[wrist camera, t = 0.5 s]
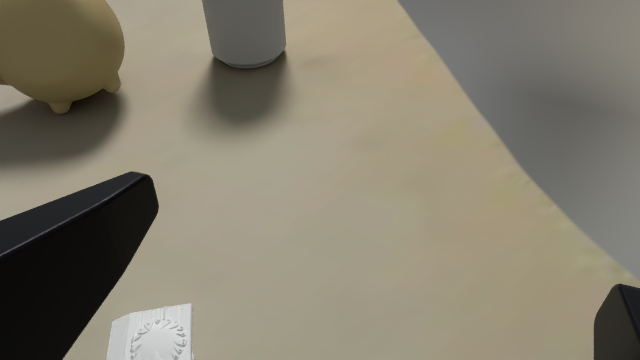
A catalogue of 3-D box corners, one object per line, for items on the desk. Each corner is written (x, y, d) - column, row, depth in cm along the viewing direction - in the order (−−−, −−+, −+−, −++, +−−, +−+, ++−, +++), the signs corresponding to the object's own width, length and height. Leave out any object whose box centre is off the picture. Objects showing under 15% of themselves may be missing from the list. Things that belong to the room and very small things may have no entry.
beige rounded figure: (7, 81, 45) (-56, -35, 37) (137, 60, 47) (101, -53, 40) (-11, 142, 38) (-93, 15, 31) (141, 113, 40) (99, -11, 33)
